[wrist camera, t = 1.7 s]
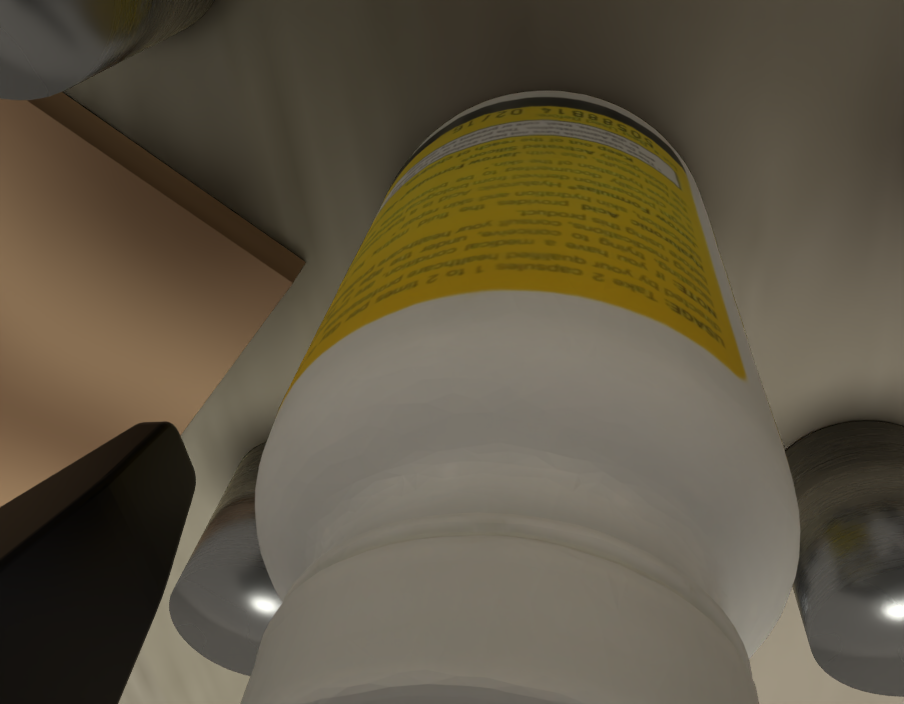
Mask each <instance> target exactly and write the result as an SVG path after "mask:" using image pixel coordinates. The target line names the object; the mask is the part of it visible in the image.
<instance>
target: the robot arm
mask: <svg viewBox="0 0 904 704" xmlns="http://www.w3.org/2000/svg"><path fill="white" fill-rule="evenodd" d="M195 485H196V476H195V471H194V468H193V465H192V463H191V461H190V458H189V456H188V453H187V451H186V448H185V446H184V444H183V441H182V439H181V436H180V434H179V431H178V430H177V428H176V427H175V426H174V424H172V423H170V422H167V421H161V422H141V423H138V424H136V425H134V426H132V427H131V428H129V429H128V430H126V431H124V432H123V433H121V434H119V435H118V436H116V437H114V438H113V439H111V440H109V441H108V442H106V443H105V444H103V445H101V446H100V447H98V448H96V449H95V450H93V451H91V452H90V453H88V454H86V455H85V456H83V457H82V458H80V459H78V460H77V461H75V462H73V463H72V464H70V465H68V466H67V467H65V468H63V469H62V470H60V471H59V472H57V473H55V474H54V475H52V476H50V477H49V478H47V479H45V480H44V481H42V482H40V483H39V484H37V485H36V486H34V487H32V488H31V489H29V490H27V491H26V492H24V493H22V494H21V495H19V496H17V497H16V498H14V499H13V500H11V501H9V502H8V503H6V504H4V505H3V506H1V507H0V704H118V703H119V700H120V698H121V696H122V693H123V691H124V688H125V686H126V684H127V681H128V679H129V676H130V674H131V672H132V669H133V667H134V665H135V662H136V660H137V657H138V655H139V653H140V650H141V648H142V645H143V643H144V641H145V638H146V636H147V633H148V631H149V629H150V626H151V624H152V621H153V619H154V617H155V614H156V612H157V609H158V607H159V604H160V601H161V599H162V596H163V593H164V590H165V587H166V584H167V581H168V578H169V575H170V572H171V568H172V565H173V562H174V558H175V555H176V552H177V548H178V545H179V541H180V538H181V535H182V531H183V528H184V525H185V521H186V518H187V515H188V511H189V508H190V505H191V501H192V498H193V494H194V491H195Z"/></svg>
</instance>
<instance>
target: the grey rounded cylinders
mask: <svg viewBox="0 0 904 704" xmlns="http://www.w3.org/2000/svg"><path fill="white" fill-rule="evenodd" d="M213 2H214V0H0V98H1V99H9V100H35V99H40V98H45V97H49V96H52V95H55V94H57V93H60V92H62V91H64V90H66V89H68V88H70V87H72V86H74V85H76V84H78V83H80V82H82V81H84V80H86V79H88V78H90V77H92V76H94V75H96V74H98V73H100V72H102V71H104V70H106V69H108V68H110V67H112V66H114V65H116V64H117V63H119V62H121V61H123V60H125V59H127V58H129V57H131V56H133V55H135V54H137V53H139V52H141V51H143V50H145V49H147V48H149V47H151V46H153V45H155V44H157V43H159V42H161V41H163V40H165V39H167V38H169V37H171V36H172V35H174V34H176V33H178V32H180V31H182V30H184V29H186V28H187V27H189V26H191V25H192V24H194V23H195V22H196V21H197V20H199V19H200V18H201V17H202V16H203V15H204V14H205V13H206V11H207V10H208V9H209V8H210V7H211V5H212V3H213ZM265 445H266V443H264V444H262V445H260V446H258V447H256V448H254V449H253V450H251V451H250V452H249V453H248V454H247V455H246V456H245V457H244V458H243V460H242V461H241V462H240V464H239V466H238V468H237V470H236V472H235V474H234V476H233V477H232V479H231V481H230V483H229V485H228V487H227V489H226V491H225V493H224V495H223V496H222V498H221V500H220V502H219V504H218V506H217V508H216V510H215V512H214V514H213V515H212V517H211V519H210V521H209V523H208V525H207V527H206V529H205V531H204V533H203V534H202V536H201V538H200V540H199V542H198V544H197V546H196V548H195V550H194V552H193V553H192V555H191V557H190V559H189V561H188V563H187V565H186V567H185V569H184V571H183V572H182V574H181V576H180V578H179V580H178V582H177V584H176V586H175V588H174V590H173V592H172V594H171V597H170V602H169V611H170V615H171V619H172V621H173V624H174V626H175V627H176V629H177V631H178V632H179V634H180V635H181V636H182V638H183V639H184V640H185V641H186V642H187V643H188V644H189V645H190V646H191V647H192V648H193V649H195V650H196V651H197V652H198V653H200V654H201V655H203V656H204V657H205V658H207V659H209V660H210V661H212V662H214V663H216V664H218V665H220V666H222V667H224V668H227V669H229V670H232V671H234V672H237V673H241V674H244V675H248V676H251V674H252V671H253V668H254V665H255V661H256V657H257V653H258V649H259V646H260V643H261V640H262V637H263V634H264V632H265V630H266V628H267V626H268V624H269V622H270V621H271V619H272V618H273V616H274V615H275V613H276V611H277V610H278V609H279V607H280V606H281V604H282V601H281V599H280V597H279V596H278V594H277V592H276V590H275V589H274V586H273V584H272V582H271V579H270V577H269V574H268V572H267V569H266V566H265V564H264V561H263V558H262V555H261V552H260V547H259V542H258V537H257V529H256V518H255V487H256V481H257V476H258V470H259V464H260V461H261V457H262V454H263V450H264V448H265ZM785 454H786V457H787V461H788V464H789V468H790V472H791V475H792V479H793V483H794V488H795V493H796V498H797V503H798V508H799V519H800V550H799V561H798V566H797V572H796V577H795V580H794V583H793V585H792V586H793V590H794V593H795V597H796V600H797V603H798V607H799V610H800V614H801V617H802V621H803V624H804V628H805V631H806V634H807V638H808V641H809V645H810V648H811V651H812V654H813V656H814V658H815V660H816V661H817V663H818V664H819V666H820V667H821V668H822V669H823V670H824V671H825V672H826V673H827V674H829V675H830V676H831V677H833V678H834V679H836V680H838V681H839V682H841V683H843V684H845V685H847V686H850V687H852V688H855V689H858V690H861V691H865V692H869V693H874V694H880V695H887V696H904V427H902V426H899V425H895V424H891V423H886V422H877V421H858V422H849V423H843V424H838V425H834V426H831V427H827V428H824V429H822V430H819V431H816V432H814V433H812V434H810V435H808V436H806V437H805V438H803V439H801V440H800V441H798V442H796V443H795V444H794V445H793V446H791V447H790V448H789V449H788V450H787V451H786V452H785Z"/></svg>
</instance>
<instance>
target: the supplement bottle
mask: <svg viewBox="0 0 904 704" xmlns="http://www.w3.org/2000/svg"><path fill="white" fill-rule="evenodd" d="M255 518H256V529H257V537H258V542H259V547H260V552H261V555H262V558H263V561H264V564H265V566H266V569H267V572H268V574H269V577H270V579H271V582H272V584H273V586H274V589H275V590H276V592H277V594H278V596H279V597H280V599H281V601H282V604H281V606H280V607H279V609H278V610H277V611H276V613H275V615H274V616H273V618H272V619H271V621H270V622H269V624H268V626H267V628H266V630H265V632H264V634H263V637H262V640H261V643H260V646H259V649H258V653H257V657H256V661H255V665H254V668H253V671H252V674H251V676H250V679H249V682H248V685H247V687H246V690H245V693H244V696H243V698H242V701H241V704H759V701H758V696H757V691H756V687H755V684H754V681H753V679H752V672H751V667H750V662H749V659H750V658H751V656H752V655H753V654H754V653H755V652H756V650H757V649H758V648H759V647H760V646H761V645H762V643H763V642H764V641H765V640H766V639H767V637H768V636H769V634H770V632H771V631H772V629H773V628H774V626H775V624H776V623H777V621H778V620H779V618H780V616H781V614H782V612H783V609H784V607H785V605H786V602H787V599H788V597H789V594H790V591H791V588H792V585H793V583H794V580H795V577H796V572H797V566H798V561H799V550H800V519H799V508H798V503H797V498H796V493H795V488H794V483H793V479H792V475H791V472H790V468H789V464H788V461H787V457H786V454H785V450H784V447H783V443H782V441H781V438H780V435H779V432H778V429H777V426H776V423H775V420H774V417H773V414H772V411H771V409H770V406H769V403H768V400H767V397H766V394H765V391H764V388H763V385H762V382H761V380H760V377H759V374H758V371H757V368H756V365H755V362H754V359H753V356H752V353H751V349H750V346H749V343H748V340H747V336H746V333H745V330H744V326H743V323H742V320H741V317H740V314H739V311H738V308H737V305H736V302H735V299H734V296H733V293H732V290H731V286H730V283H729V280H728V277H727V274H726V271H725V268H724V265H723V262H722V259H721V256H720V253H719V250H718V247H717V243H716V239H715V236H714V233H713V230H712V227H711V224H710V221H709V218H708V215H707V212H706V209H705V206H704V203H703V201H702V198H701V195H700V192H699V189H698V187H697V184H696V182H695V180H694V178H693V176H692V175H691V173H690V171H689V169H688V167H687V166H686V164H685V162H684V161H683V160H682V158H681V157H680V156H679V154H678V153H677V152H676V150H675V149H674V148H673V147H672V146H671V145H670V144H669V143H668V141H667V140H666V139H665V138H664V137H663V136H662V135H661V134H659V133H658V132H657V131H656V130H655V129H654V128H653V127H651V126H650V125H649V124H647V123H646V122H644V121H643V120H642V119H640V118H639V117H637V116H635V115H634V114H632V113H630V112H629V111H627V110H625V109H623V108H621V107H619V106H617V105H615V104H612V103H609V102H607V101H604V100H602V99H598V98H595V97H591V96H588V95H584V94H578V93H571V92H565V91H530V92H521V93H515V94H509V95H505V96H501V97H497V98H494V99H491V100H488V101H485V102H482V103H480V104H478V105H476V106H473V107H471V108H469V109H467V110H465V111H463V112H462V113H460V114H458V115H456V116H455V117H453V118H452V119H450V120H449V121H447V122H446V123H445V124H443V125H442V126H441V127H440V128H438V129H437V130H436V131H434V132H433V133H432V134H431V135H430V136H429V137H428V138H427V139H426V140H425V141H424V142H423V143H422V144H421V145H420V146H419V147H418V148H417V149H416V151H415V152H414V153H413V154H412V156H411V157H410V158H409V159H408V161H407V162H406V163H405V165H404V166H403V168H402V169H401V170H400V172H399V173H398V175H397V176H396V178H395V180H394V181H393V183H392V185H391V187H390V189H389V191H388V193H387V195H386V197H385V199H384V201H383V203H382V205H381V207H380V209H379V211H378V213H377V215H376V217H375V219H374V221H373V223H372V225H371V227H370V229H369V231H368V233H367V235H366V237H365V239H364V241H363V243H362V245H361V247H360V249H359V250H358V252H357V254H356V256H355V258H354V260H353V262H352V264H351V266H350V268H349V270H348V272H347V274H346V276H345V277H344V279H343V281H342V283H341V285H340V287H339V289H338V292H337V294H336V296H335V298H334V300H333V302H332V304H331V306H330V308H329V310H328V312H327V314H326V315H325V317H324V319H323V321H322V323H321V325H320V327H319V329H318V331H317V333H316V335H315V337H314V339H313V341H312V343H311V345H310V347H309V349H308V351H307V353H306V355H305V357H304V359H303V361H302V362H301V365H300V367H299V369H298V371H297V373H296V375H295V377H294V379H293V381H292V383H291V385H290V387H289V389H288V391H287V393H286V395H285V397H284V399H283V401H282V403H281V405H280V407H279V410H278V413H277V415H276V418H275V421H274V424H273V427H272V429H271V432H270V434H269V437H268V440H267V442H266V445H265V448H264V450H263V454H262V457H261V461H260V464H259V470H258V476H257V481H256V487H255Z"/></svg>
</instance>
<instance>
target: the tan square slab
mask: <svg viewBox="0 0 904 704" xmlns="http://www.w3.org/2000/svg"><path fill="white" fill-rule="evenodd" d="M305 263H306V262H305V261H303V260H302V259H300V258H299V257H297V256H296V255H295V254H293V253H292V252H290V251H289V250H287V249H286V248H285V247H283V246H282V245H280V244H279V243H277V242H276V241H275V240H273V239H272V238H270V237H269V236H267V235H266V234H265V233H263V232H262V231H260V230H259V229H257V228H256V227H254V226H253V225H252V224H250V223H249V222H247V221H246V220H244V219H243V218H242V217H240V216H239V215H237V214H236V213H234V212H233V211H232V210H230V209H229V208H227V207H226V206H224V205H223V204H222V203H220V202H219V201H217V200H216V199H214V198H213V197H211V196H210V195H209V194H207V193H206V192H204V191H203V190H201V189H200V188H199V187H197V186H196V185H194V184H193V183H191V182H190V181H189V180H187V179H186V178H184V177H183V176H181V175H180V174H179V173H177V172H176V171H174V170H173V169H171V168H170V167H168V166H167V165H166V164H164V163H163V162H161V161H160V160H158V159H157V158H156V157H154V156H153V155H151V154H150V153H148V152H147V151H146V150H144V149H143V148H141V147H140V146H138V145H137V144H136V143H134V142H133V141H131V140H130V139H128V138H127V137H125V136H124V135H123V134H121V133H120V132H118V131H117V130H115V129H114V128H113V127H111V126H110V125H108V124H107V123H105V122H104V121H103V120H101V119H100V118H98V117H97V116H95V115H94V114H93V113H91V112H90V111H88V110H87V109H85V108H84V107H82V106H81V105H80V104H78V103H77V102H75V101H74V100H72V99H71V98H70V97H68V96H67V95H65V94H64V93H62V92H60V93H57V94H55V95H52V96H49V97H45V98H40V99H35V100H9V99H1V98H0V507H1V506H3V505H4V504H6V503H8V502H9V501H11V500H13V499H14V498H16V497H17V496H19V495H21V494H22V493H24V492H26V491H27V490H29V489H31V488H32V487H34V486H36V485H37V484H39V483H40V482H42V481H44V480H45V479H47V478H49V477H50V476H52V475H54V474H55V473H57V472H59V471H60V470H62V469H63V468H65V467H67V466H68V465H70V464H72V463H73V462H75V461H77V460H78V459H80V458H82V457H83V456H85V455H86V454H88V453H90V452H91V451H93V450H95V449H96V448H98V447H100V446H101V445H103V444H105V443H106V442H108V441H109V440H111V439H113V438H114V437H116V436H118V435H119V434H121V433H123V432H124V431H126V430H128V429H129V428H131V427H132V426H134V425H136V424H138V423H141V422H161V421H167V422H170V423H172V424H174V426H175V427H176V428H177V430H178V431H179V434H180V435H181V434H182V433H183V431H184V430H185V429H186V427H187V426H188V424H189V423H190V422H191V420H192V419H193V418H194V416H195V415H196V414H197V412H198V411H199V410H200V408H201V407H202V406H203V404H204V403H205V401H206V400H207V399H208V397H209V396H210V395H211V393H212V392H213V391H214V389H215V388H216V387H217V385H218V384H219V382H220V381H221V380H222V378H223V377H224V376H225V374H226V373H227V372H228V370H229V369H230V368H231V366H232V365H233V363H234V362H235V361H236V359H237V358H238V357H239V355H240V354H241V353H242V351H243V350H244V349H245V347H246V346H247V344H248V343H249V342H250V340H251V339H252V338H253V336H254V335H255V334H256V332H257V331H258V330H259V328H260V327H261V326H262V324H263V323H264V321H265V320H266V319H267V317H268V316H269V315H270V313H271V312H272V311H273V309H274V308H275V307H276V305H277V304H278V302H279V301H280V300H281V298H282V297H283V296H284V294H285V293H286V292H287V290H288V289H289V288H290V286H291V285H292V283H293V282H294V280H295V279H296V277H297V276H298V274H299V272H300V271H301V269H302V267H303V266H304V264H305Z"/></svg>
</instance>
